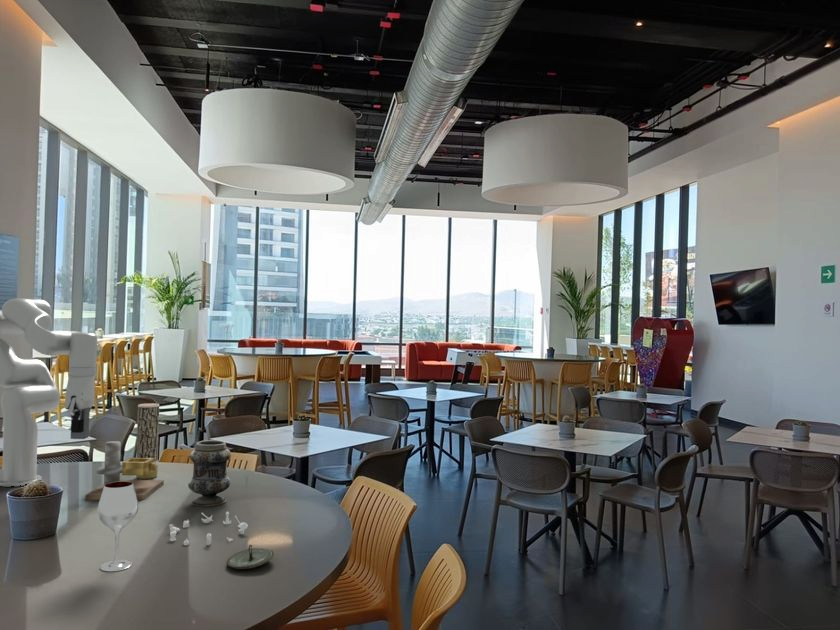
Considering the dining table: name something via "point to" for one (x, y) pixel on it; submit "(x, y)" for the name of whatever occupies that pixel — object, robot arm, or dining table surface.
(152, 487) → the board
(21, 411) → the robot arm
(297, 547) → the dining table surface
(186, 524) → the game piece set
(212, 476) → the apothecary jar
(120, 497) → the wineglass
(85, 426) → the grey rectangular bar
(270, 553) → the lid
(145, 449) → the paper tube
